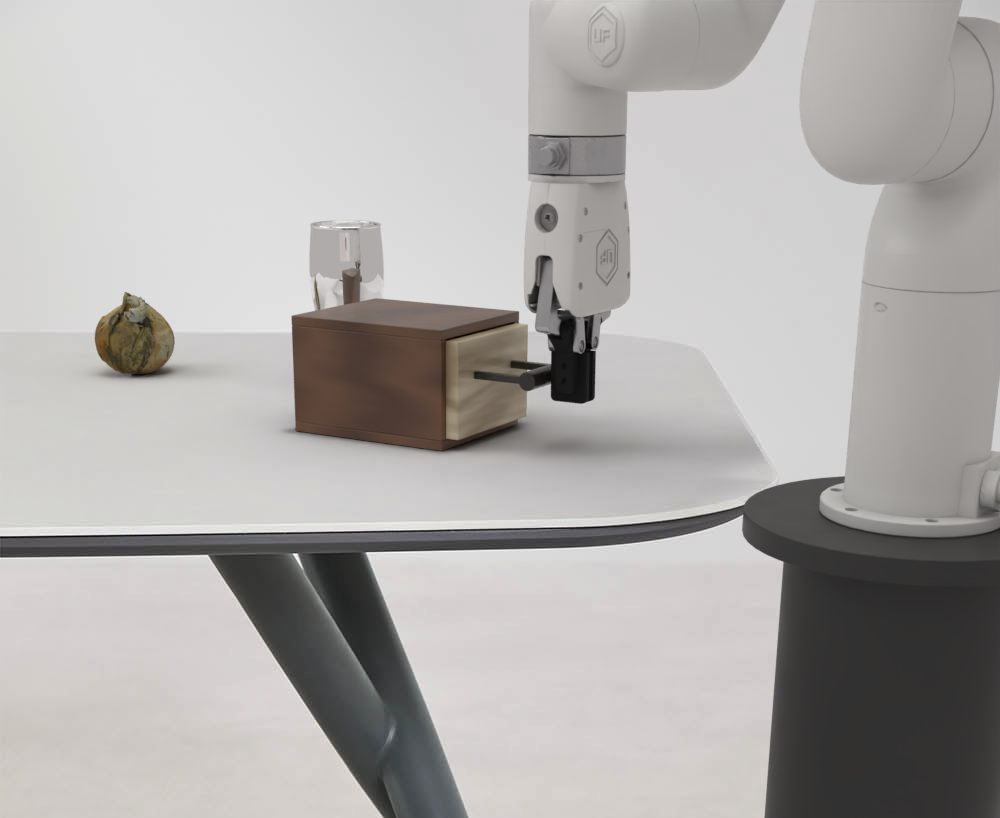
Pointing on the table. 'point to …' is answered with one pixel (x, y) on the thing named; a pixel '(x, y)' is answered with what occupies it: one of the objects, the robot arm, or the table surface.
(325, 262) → the beer glass
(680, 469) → the table surface
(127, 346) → the onion
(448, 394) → the drawer
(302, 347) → the cabinet
